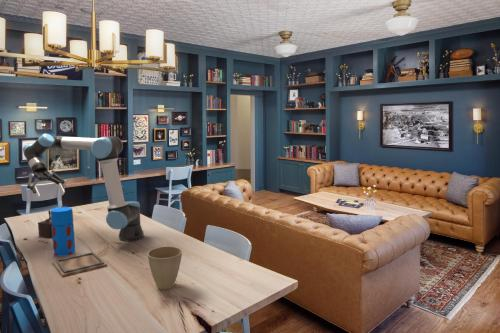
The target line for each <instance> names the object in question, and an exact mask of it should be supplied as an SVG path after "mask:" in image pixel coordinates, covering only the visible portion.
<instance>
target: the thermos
mask: <svg viewBox="0 0 500 333" xmlns="http://www.w3.org/2000/svg"><path fill="white" fill-rule="evenodd" d="M50 212H51V222H52V236H53V238H52V246H53V248H52V249H53V254H54V256H55V257H64V256H65V257H66V256H70V255H73V254H75V252H76V241H75V240H76V239H75V229H74V228H75V227H74V214H73V213H74V212H73V207H70V206H67V207H62V206H61V207H56V208H52V209H50Z"/></svg>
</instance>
